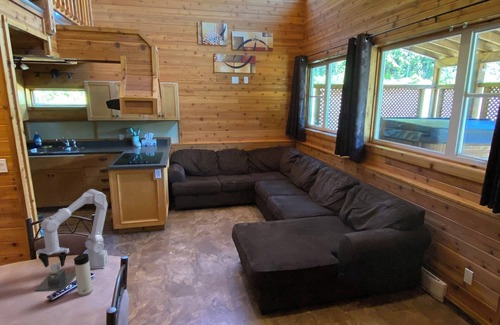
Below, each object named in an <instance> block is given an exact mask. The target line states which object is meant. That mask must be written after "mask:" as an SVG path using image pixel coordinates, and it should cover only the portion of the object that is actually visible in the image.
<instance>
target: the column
mask: <svg viewBox="0 0 500 325" xmlns="http://www.w3.org/2000/svg"><path fill="white" fill-rule="evenodd" d="M49 267H50V272H51V275H58V274H59V273H60V272H61V271H60V269H61V263H60V261H59V262H56V261H55V262H52V263H51V264H49Z"/></svg>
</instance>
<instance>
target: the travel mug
mask: <svg viewBox="0 0 500 325" xmlns="http://www.w3.org/2000/svg"><path fill="white" fill-rule="evenodd" d="M73 261H74V262H73V264H74V273H76V276H75V280H76V287H77V288H76V289H77V295H78V296H80V297H86V296H89V295H90V294H91V293H92V292H93V285H92V284H93V283H92V282H93V281H92V275H91V269H90V264H89V256H88V253H81V254H78V255H76V256H75V257H73Z"/></svg>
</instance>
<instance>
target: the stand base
mask: <svg viewBox="0 0 500 325" xmlns="http://www.w3.org/2000/svg"><path fill="white" fill-rule="evenodd" d="M60 271H61V272H60V273H59V274H58V275H51V271H50V272H49V273H48V274H47V276H46V278H44V280H42V282H40V283H39V285H38V286H37V287H36V288H35V289H34V292H46V291H47V292H48V291H63V290H62V289H65V288H66V287H67V286H70V284H71V283H72V281H73V280H74V279H76V273H75V272H66V269H65V268H62V269H61V268H60ZM67 288H68V287H67ZM67 288H66V289H67ZM66 289H65V290H66Z"/></svg>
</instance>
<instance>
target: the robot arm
mask: <svg viewBox="0 0 500 325" xmlns="http://www.w3.org/2000/svg"><path fill="white" fill-rule="evenodd" d="M86 204H87V205H88V204H90V205H92V204H93V205H95V208H96V209H95V213H94V218H93V223H92V227H91V233H90V234H89V235H87V239H86V240H85V242H84V246H85V248H86V249H87V254H88V256H89V264H90V270H91V269H105V267H106V266H107V264H108V263H109V255H108V250H106V249H104V247H105V245H104V237H103V235H102V234H103V229H104V225H105V219H106V215H107V210H108V205H109V204H108V201H107V195H106V194H104V192H101V191H99V190H96V189H93V188H90V189H88V190H86V191H85V192H84V193H82V195H81V196H80V197H79V198H78V199H76V200H75V201H74V202H72V203H71V204H70V205H69V206H67V207H66V208H65V207H63V208H59V209H58V210H57V212H56V213H55V212H54V214H52V215H50V216H49V217H48V218H44V219H43V220H41V224H40V227H41V229H43V240H44V245H45V247H44V248H41V249H38V250H36V255H38V256H37V258H38V259H39V260H40V261H41V262H42V263H43V266H44V268H48V267H50V264H49V263H50V262H49V256H51V255H52V254H58V258H59V263H60V268H63V267H64V266H65V265H66V264H65V263H66V262H65V261H66V258H67V256H68V254H69V253H70V248H69V247H68V248H66V247H62V246H61V247H60V242H59V235H58V229H59V226H60V225H61V224H62V223H64V222H65V221H67V220H68V219H69V218H70V217H71V216H72V213H74V212H75V211H77V210H79V209H80V208H82V207H83V206H84V205H86Z"/></svg>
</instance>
